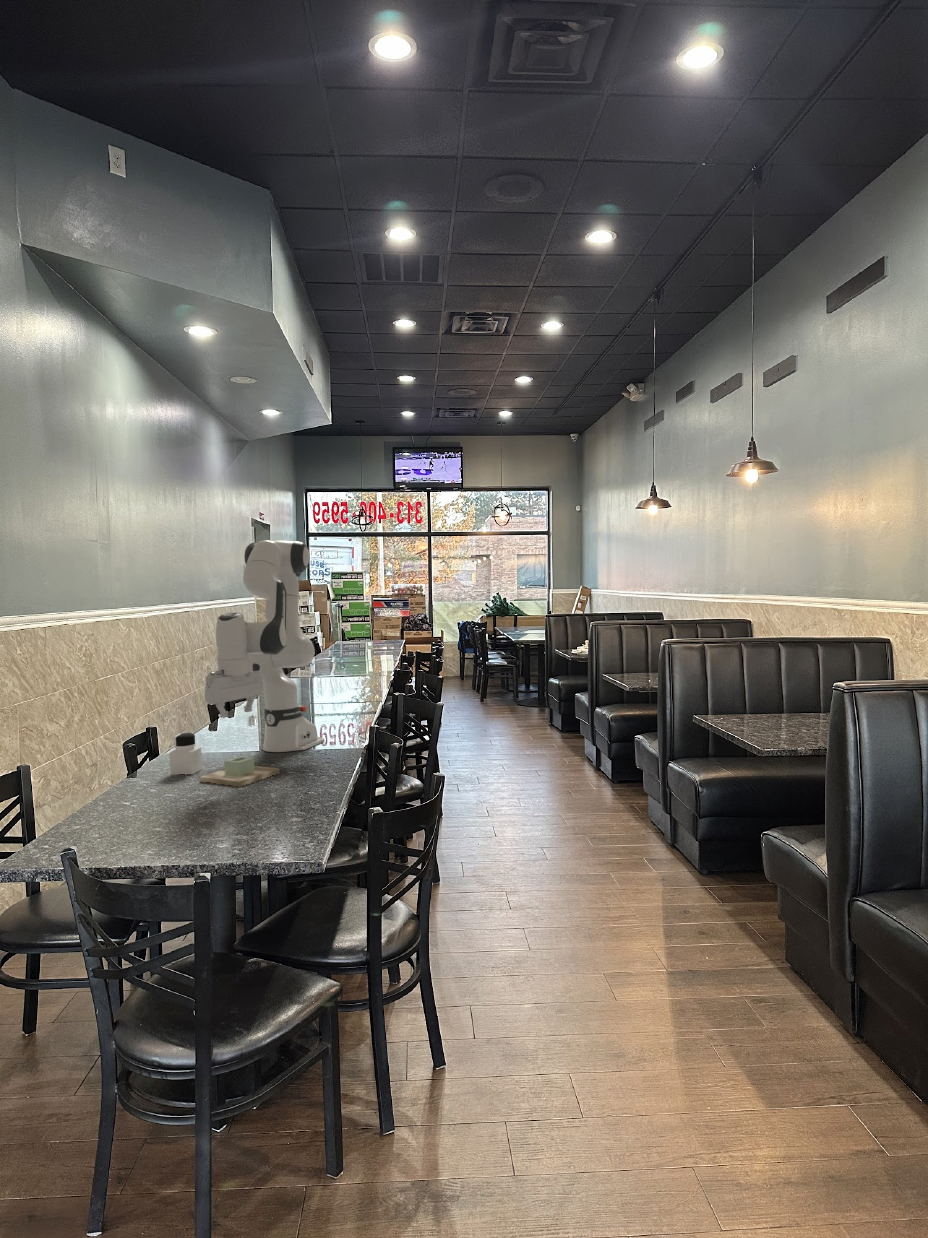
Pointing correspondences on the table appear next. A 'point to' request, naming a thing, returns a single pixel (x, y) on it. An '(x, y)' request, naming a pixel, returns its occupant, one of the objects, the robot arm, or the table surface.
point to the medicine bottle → (185, 755)
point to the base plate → (241, 780)
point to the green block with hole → (239, 766)
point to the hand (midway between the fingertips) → (236, 714)
